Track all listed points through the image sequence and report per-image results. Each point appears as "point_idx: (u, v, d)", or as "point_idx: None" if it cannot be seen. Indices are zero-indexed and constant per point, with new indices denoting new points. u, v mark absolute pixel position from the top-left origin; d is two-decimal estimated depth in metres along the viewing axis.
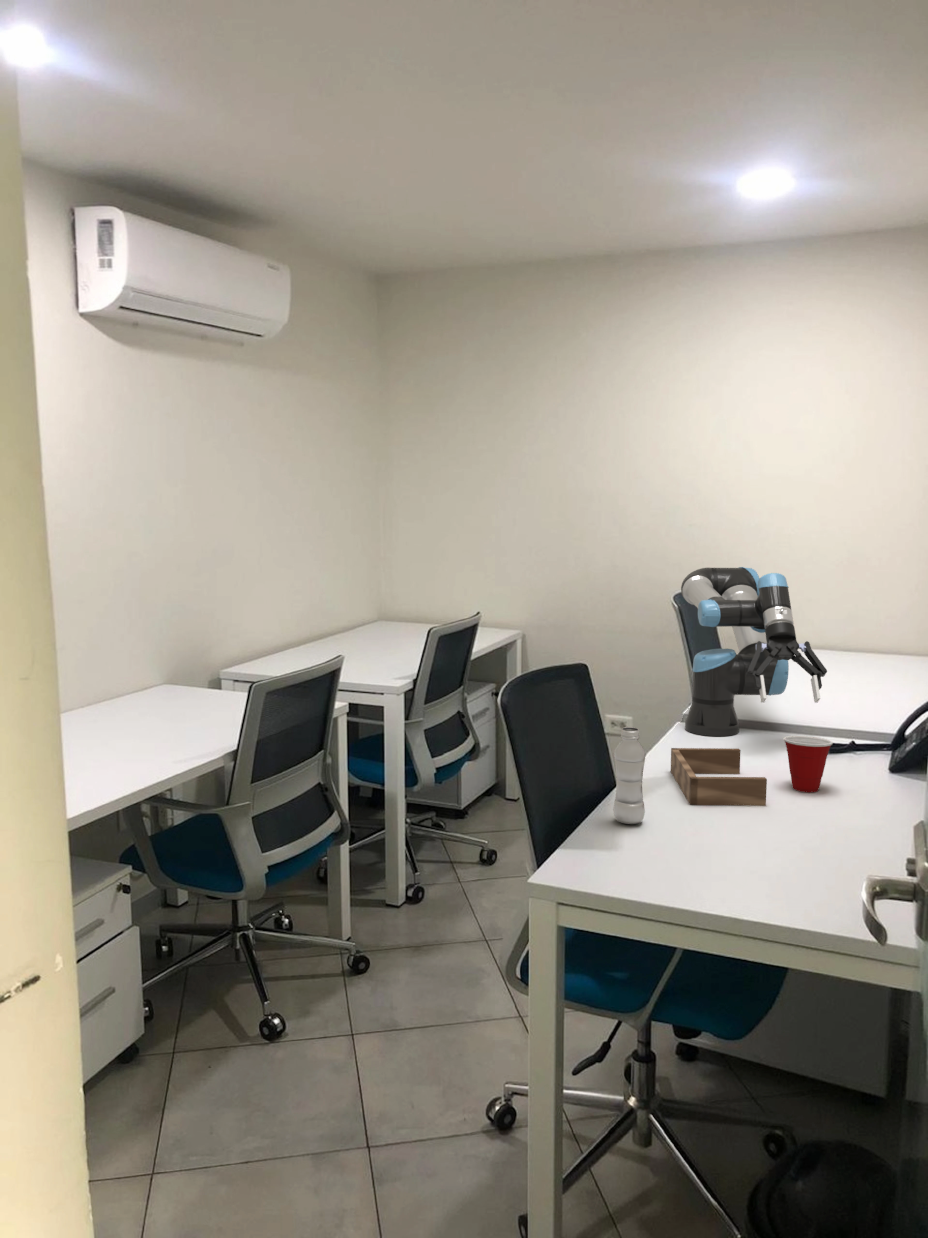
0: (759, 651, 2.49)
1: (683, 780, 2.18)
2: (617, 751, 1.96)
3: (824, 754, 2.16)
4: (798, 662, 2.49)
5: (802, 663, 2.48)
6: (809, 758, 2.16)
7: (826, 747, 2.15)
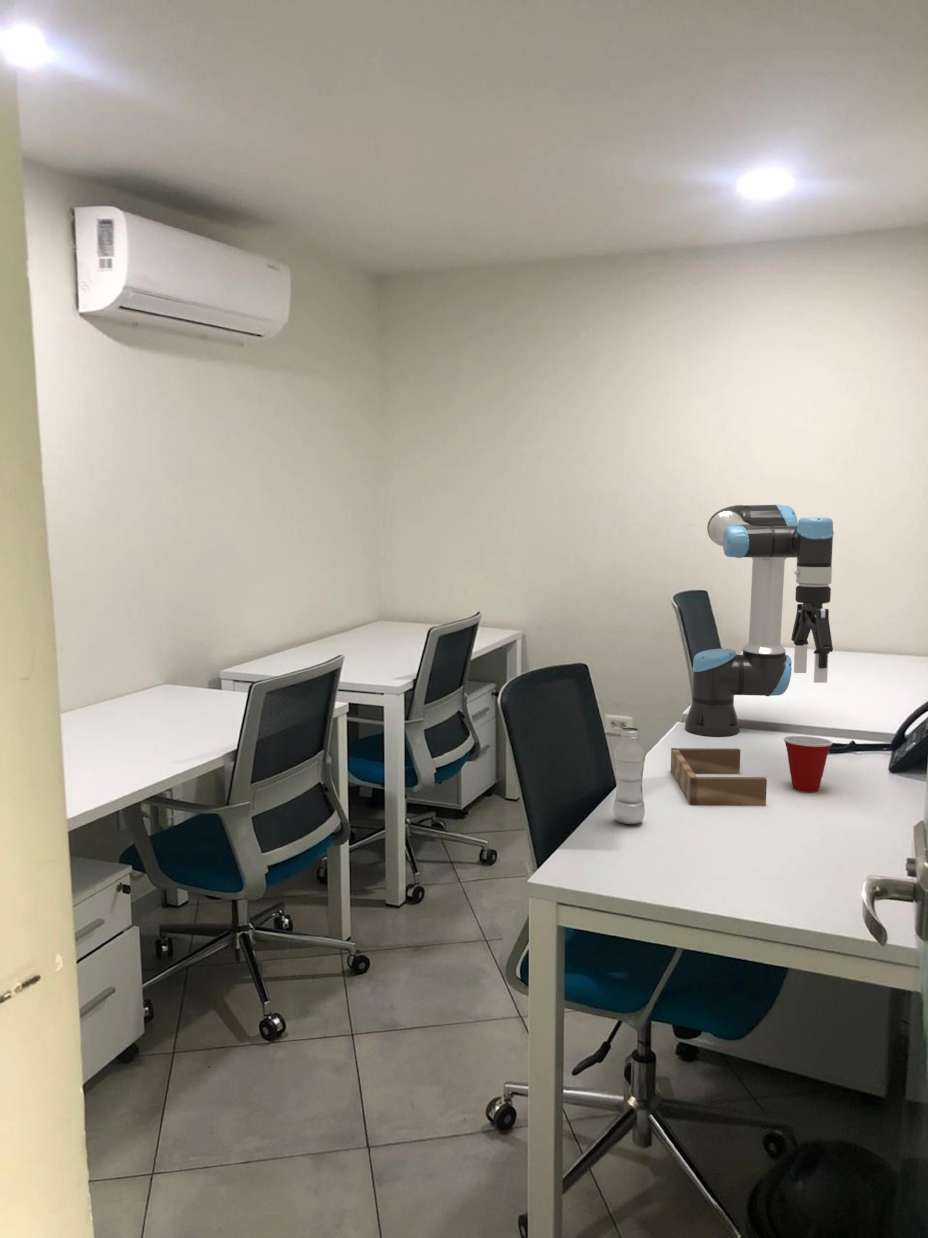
0: (797, 616, 2.24)
1: (683, 780, 2.18)
2: (617, 751, 1.96)
3: (824, 754, 2.16)
4: None
5: None
6: (809, 758, 2.16)
7: (826, 747, 2.15)
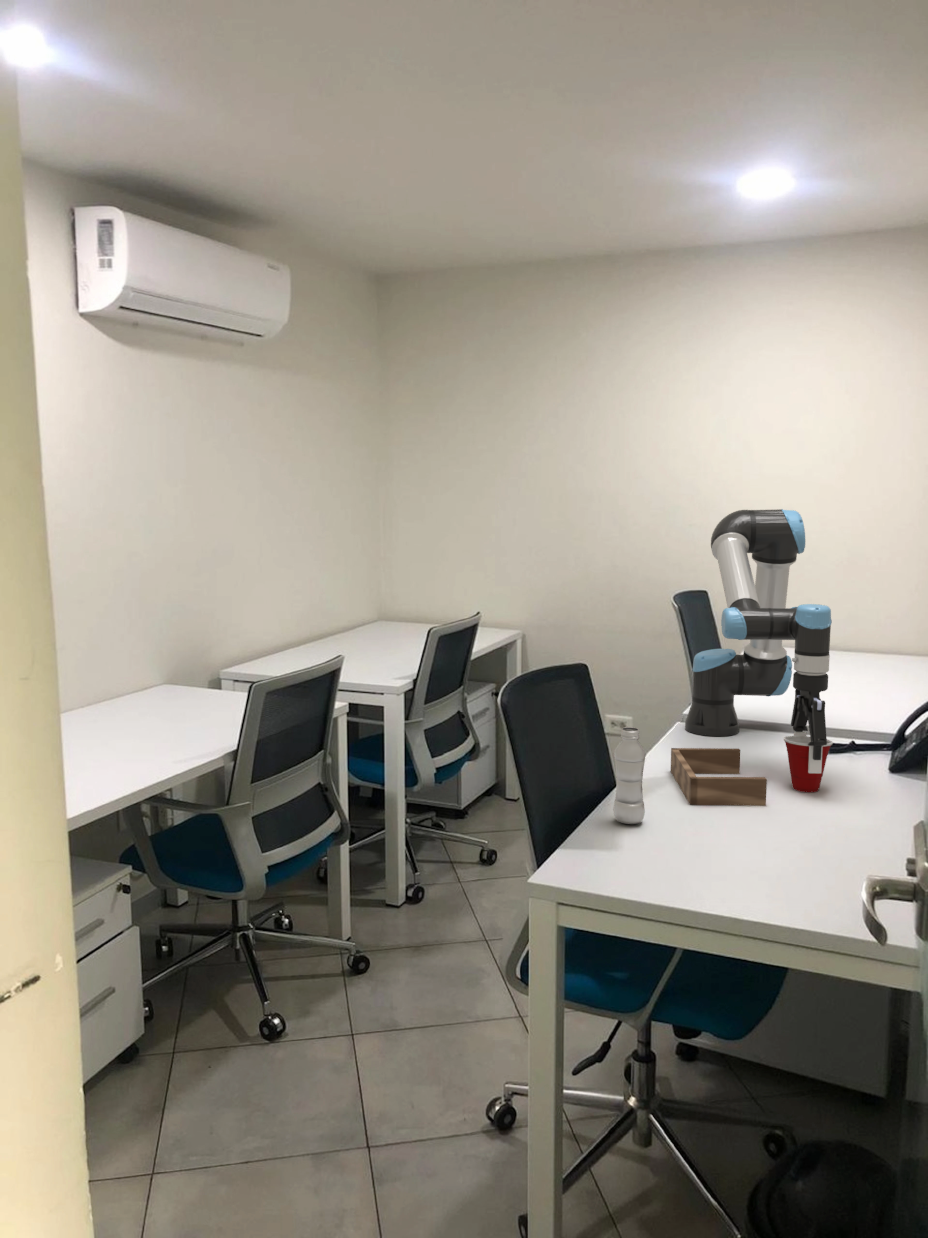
0: (795, 701, 2.25)
1: (683, 780, 2.18)
2: (617, 751, 1.96)
3: (824, 754, 2.16)
4: None
5: None
6: None
7: (826, 747, 2.15)
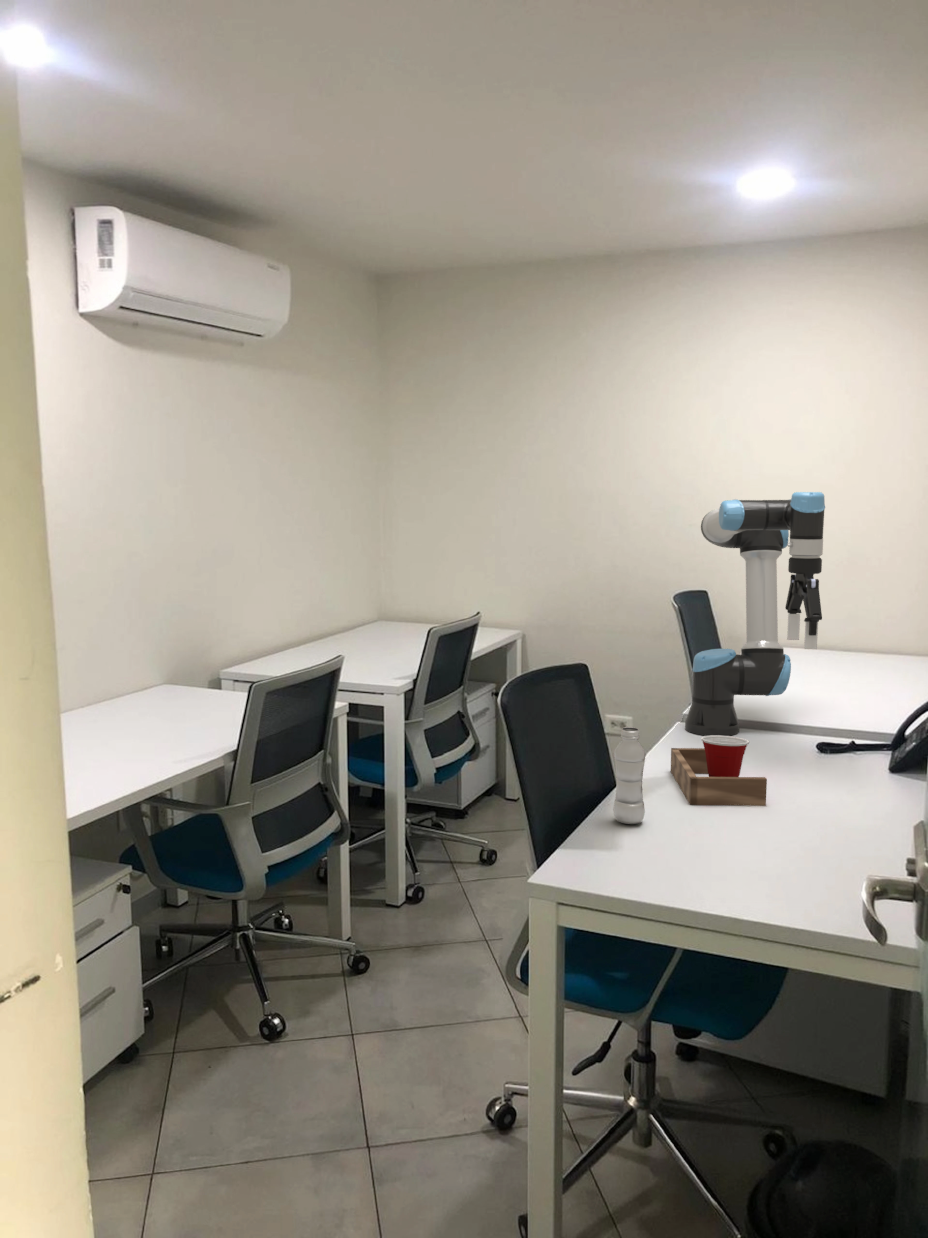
0: (790, 586, 2.35)
1: (683, 780, 2.18)
2: (617, 751, 1.96)
3: (740, 753, 2.17)
4: None
5: None
6: (725, 757, 2.16)
7: (742, 746, 2.16)
